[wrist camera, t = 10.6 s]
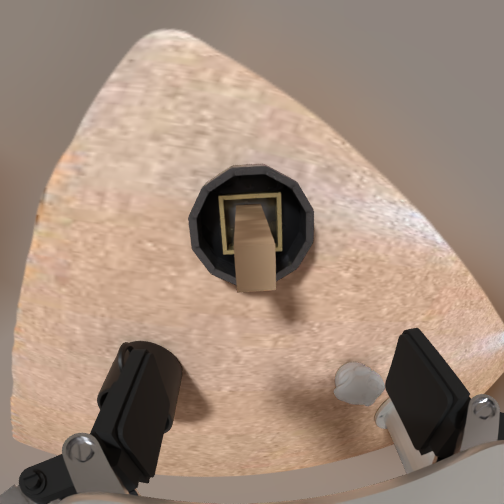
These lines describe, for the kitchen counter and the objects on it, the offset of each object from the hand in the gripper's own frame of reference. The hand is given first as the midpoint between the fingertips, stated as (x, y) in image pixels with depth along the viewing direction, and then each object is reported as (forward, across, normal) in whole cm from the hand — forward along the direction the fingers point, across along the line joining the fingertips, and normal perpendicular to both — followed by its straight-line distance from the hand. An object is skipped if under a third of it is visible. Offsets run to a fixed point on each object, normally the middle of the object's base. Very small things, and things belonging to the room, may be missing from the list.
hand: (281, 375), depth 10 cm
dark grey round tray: (+21, +1, -1) cm, 21 cm away
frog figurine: (+22, -12, +21) cm, 33 cm away
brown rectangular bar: (+20, +1, -1) cm, 20 cm away
